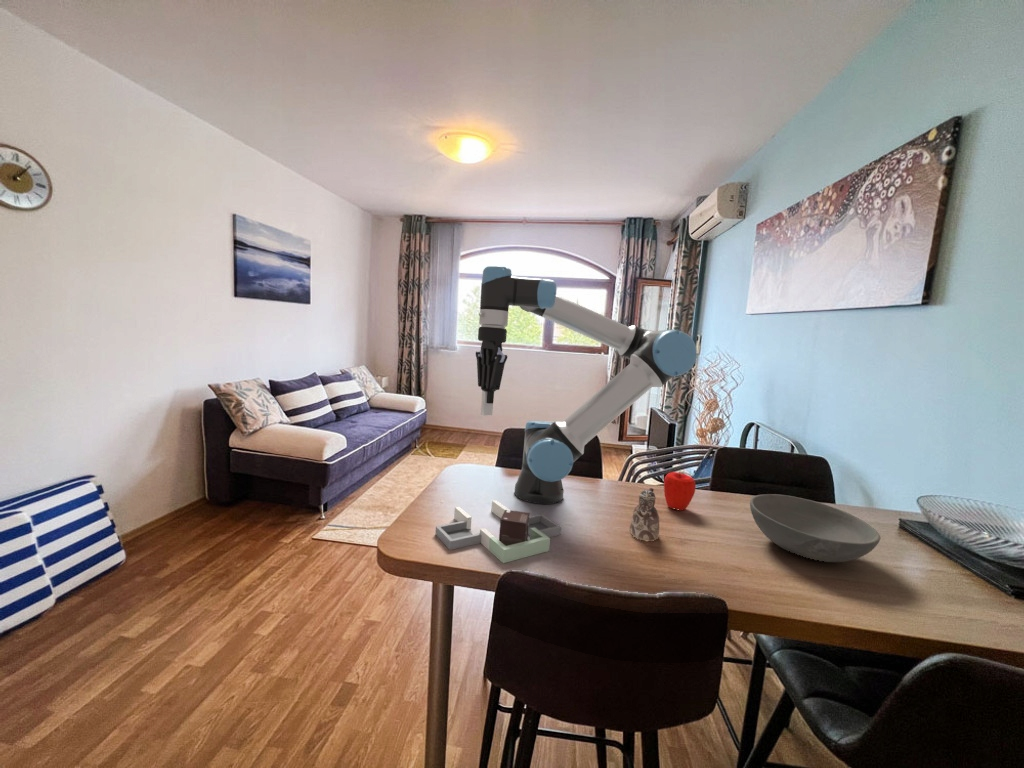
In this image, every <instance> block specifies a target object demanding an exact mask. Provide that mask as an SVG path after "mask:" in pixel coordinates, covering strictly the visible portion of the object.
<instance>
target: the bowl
mask: <svg viewBox="0 0 1024 768" xmlns="http://www.w3.org/2000/svg"><path fill="white" fill-rule="evenodd" d="M749 507H750V513H751V515H752V518H753V520H754V522H755V524H756V525H757V527H758V529H759V530H760V531H761V533H762V534H764V536H765V537H766V538H767V539H769V540H770V541H771V542H773V543H774V544H776V545H777V546H778V547H779V548H781V549H783V550H785V551H787V552H789V551H790V553H791V554H794V553H795V554H794V555H796V554H797V556H799V555H801V556H800V557H802V556H803V557H802V558H805V557H806V559H808V558H810V559H809V560H812V559H814V561H817V560H819V561H818V562H822V561H824V562H823V563H843V562H845V563H846V562H850V561H854V560H856V559H859V558H862V557H864V556H866V555H868V554H869V553H870V552H872V551H873V550H874V549H875V548H876V547H877V546H878V544H879V542H880V540H881V535H880V533H878V531H877V530H876V529H875V528H874V527H872V525H870V524H869V523H867V522H865V521H864V520H862V519H861V518H859V517H857V516H855V515H853V514H851V513H849V512H846V511H844V510H842V509H839V508H836V507H833V506H831V505H827V504H824V503H821V502H819V501H815V500H812V499H808V498H802V497H797V496H794V495H786V494H776V493H774V494H772V493H771V494H770V493H767V494H766V493H765V494H757V495H754V496H753V497H752V498H751V499H750V501H749Z"/></svg>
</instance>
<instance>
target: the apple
mask: <svg viewBox="0 0 1024 768" xmlns="http://www.w3.org/2000/svg"><path fill="white" fill-rule="evenodd" d="M663 492H664V499H665V502H666V505H667V507H668V506H669V508H670V507H671V508H675V509H679V510H682V511H684V510H686V509H687V508H688V506H689V505H690V503H691V502H692V499H693V498H694V495H695V493H696V481H695V479H694V478H693V477H691V476H690V475H687V474H686V473H680V472H675V471H674V472H673V471H669V473H666V475H665V476H664V481H663ZM671 508H670V509H671ZM683 509H684V510H683Z"/></svg>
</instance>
